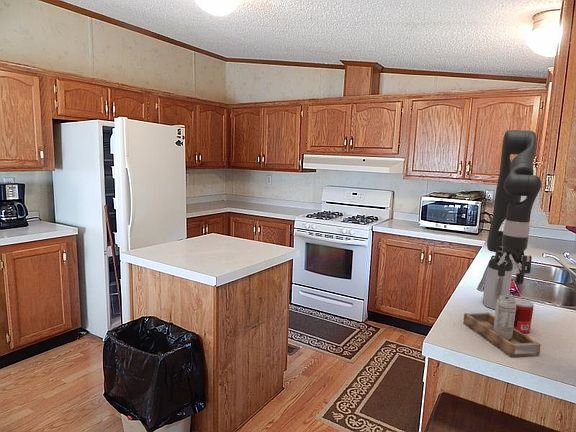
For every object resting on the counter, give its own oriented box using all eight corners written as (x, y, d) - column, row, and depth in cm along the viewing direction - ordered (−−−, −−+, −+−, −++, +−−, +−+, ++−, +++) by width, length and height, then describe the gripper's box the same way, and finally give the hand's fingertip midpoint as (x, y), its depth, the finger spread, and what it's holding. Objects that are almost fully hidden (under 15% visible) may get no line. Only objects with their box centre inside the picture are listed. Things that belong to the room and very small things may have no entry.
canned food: (532, 329, 150) (536, 302, 149) (526, 336, 145) (530, 307, 143) (510, 323, 156) (513, 296, 154) (503, 328, 150) (507, 301, 149)
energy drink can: (512, 337, 141) (517, 296, 139) (511, 343, 136) (516, 301, 134) (493, 332, 144) (498, 293, 142) (491, 338, 139) (496, 297, 137)
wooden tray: (463, 323, 154) (464, 313, 153) (487, 322, 156) (488, 312, 155) (510, 357, 129) (512, 345, 128) (539, 355, 131) (540, 344, 130)
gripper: (542, 238, 128) (535, 286, 130) (510, 229, 142) (504, 273, 144) (521, 238, 126) (514, 287, 129) (491, 229, 140) (486, 273, 143)
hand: (509, 280), depth 137 cm, fingers open, 8 cm apart
